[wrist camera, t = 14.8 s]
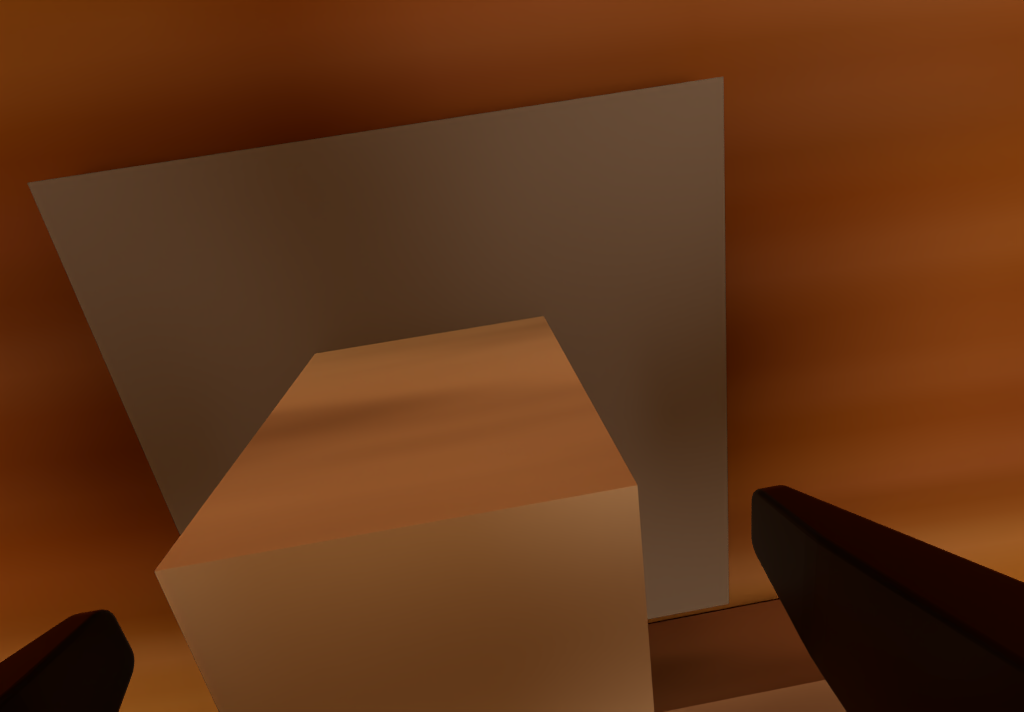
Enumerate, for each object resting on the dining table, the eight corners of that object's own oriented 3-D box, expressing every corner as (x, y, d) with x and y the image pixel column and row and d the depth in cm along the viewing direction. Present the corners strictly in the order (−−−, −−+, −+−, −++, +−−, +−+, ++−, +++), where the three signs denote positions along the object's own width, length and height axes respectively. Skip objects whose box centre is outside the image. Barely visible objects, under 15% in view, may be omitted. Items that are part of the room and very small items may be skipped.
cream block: (567, 506, 12) (660, 796, 7) (369, 542, 12) (292, 870, 7) (543, 315, 11) (637, 485, 5) (314, 353, 11) (153, 571, 5)
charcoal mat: (708, 570, 15) (729, 604, 14) (265, 653, 14) (249, 695, 13) (695, 85, 11) (723, 76, 10) (74, 180, 10) (27, 182, 9)
